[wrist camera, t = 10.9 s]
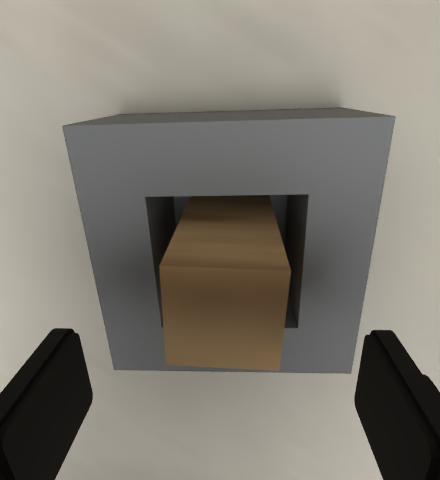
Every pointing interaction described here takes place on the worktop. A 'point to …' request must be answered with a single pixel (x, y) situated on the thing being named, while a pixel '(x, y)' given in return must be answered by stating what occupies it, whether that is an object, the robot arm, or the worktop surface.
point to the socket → (227, 184)
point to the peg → (225, 285)
